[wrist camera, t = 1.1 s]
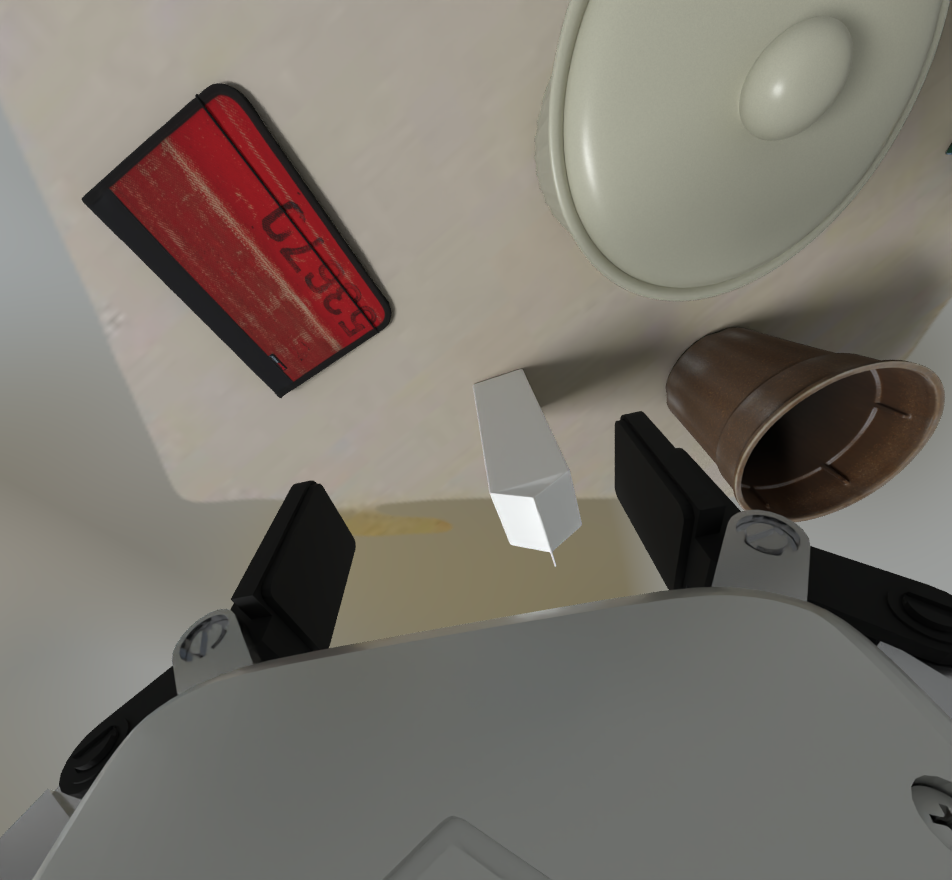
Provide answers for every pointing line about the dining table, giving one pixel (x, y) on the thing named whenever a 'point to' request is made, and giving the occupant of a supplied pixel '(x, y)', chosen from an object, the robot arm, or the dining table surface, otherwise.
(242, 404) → the dining table surface
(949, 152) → the crayon box
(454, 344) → the dining table surface
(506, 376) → the milk
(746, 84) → the canister
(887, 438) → the plant pot
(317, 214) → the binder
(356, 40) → the dining table surface
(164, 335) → the dining table surface
